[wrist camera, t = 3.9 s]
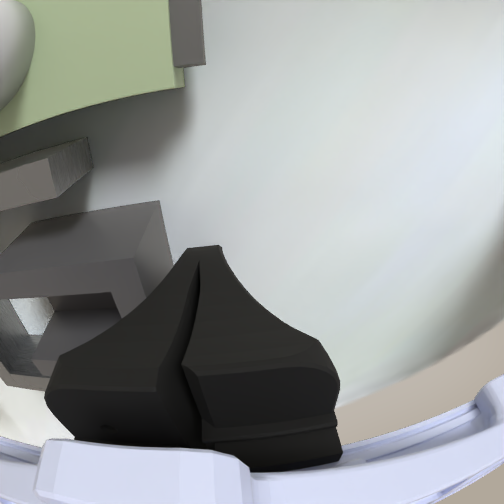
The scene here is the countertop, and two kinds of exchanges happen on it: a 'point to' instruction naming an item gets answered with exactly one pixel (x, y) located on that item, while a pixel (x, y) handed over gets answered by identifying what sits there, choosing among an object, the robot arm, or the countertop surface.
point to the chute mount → (19, 194)
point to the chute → (86, 271)
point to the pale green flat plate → (91, 53)
